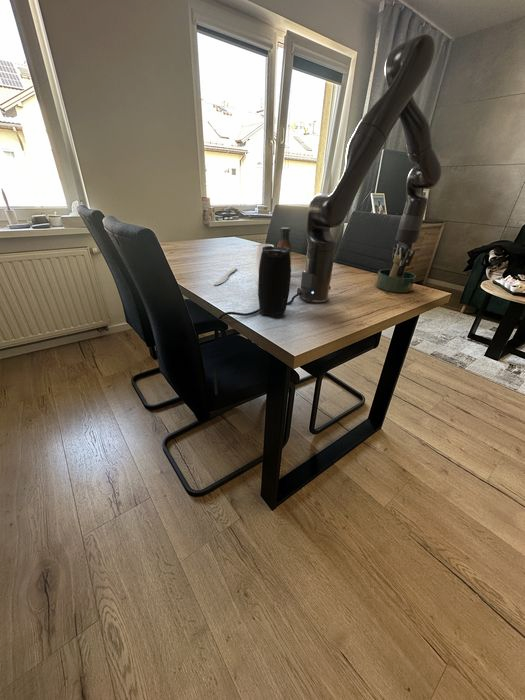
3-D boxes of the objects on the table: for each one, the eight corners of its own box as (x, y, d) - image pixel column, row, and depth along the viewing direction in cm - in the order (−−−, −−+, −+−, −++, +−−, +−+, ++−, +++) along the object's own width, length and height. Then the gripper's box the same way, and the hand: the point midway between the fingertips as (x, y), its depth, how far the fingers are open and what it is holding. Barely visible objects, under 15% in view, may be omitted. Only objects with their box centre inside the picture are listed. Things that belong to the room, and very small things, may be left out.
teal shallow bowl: (395, 295, 108) (399, 280, 105) (368, 285, 119) (371, 270, 116) (418, 291, 114) (423, 276, 111) (390, 281, 125) (394, 268, 122)
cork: (399, 286, 112) (408, 257, 106) (384, 282, 115) (391, 255, 109) (403, 282, 116) (411, 255, 111) (388, 279, 119) (396, 253, 114)
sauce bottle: (292, 275, 128) (296, 227, 118) (287, 278, 123) (291, 229, 113) (278, 273, 130) (281, 226, 120) (273, 276, 125) (276, 228, 115)
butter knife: (239, 268, 132) (233, 267, 133) (219, 285, 110) (212, 284, 110) (239, 269, 133) (233, 268, 133) (219, 286, 110) (212, 285, 110)
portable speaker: (253, 309, 90) (255, 245, 80) (280, 307, 93) (285, 245, 83) (263, 320, 83) (266, 251, 73) (291, 317, 86) (298, 250, 76)
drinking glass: (275, 283, 115) (277, 245, 108) (266, 287, 110) (268, 247, 103) (261, 280, 118) (262, 243, 111) (252, 284, 113) (253, 245, 106)
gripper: (391, 225, 111) (381, 269, 120) (408, 230, 99) (394, 278, 107) (410, 226, 111) (398, 269, 120) (429, 231, 99) (414, 279, 107)
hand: (396, 273), depth 114 cm, fingers closed on cork, 4 cm apart
